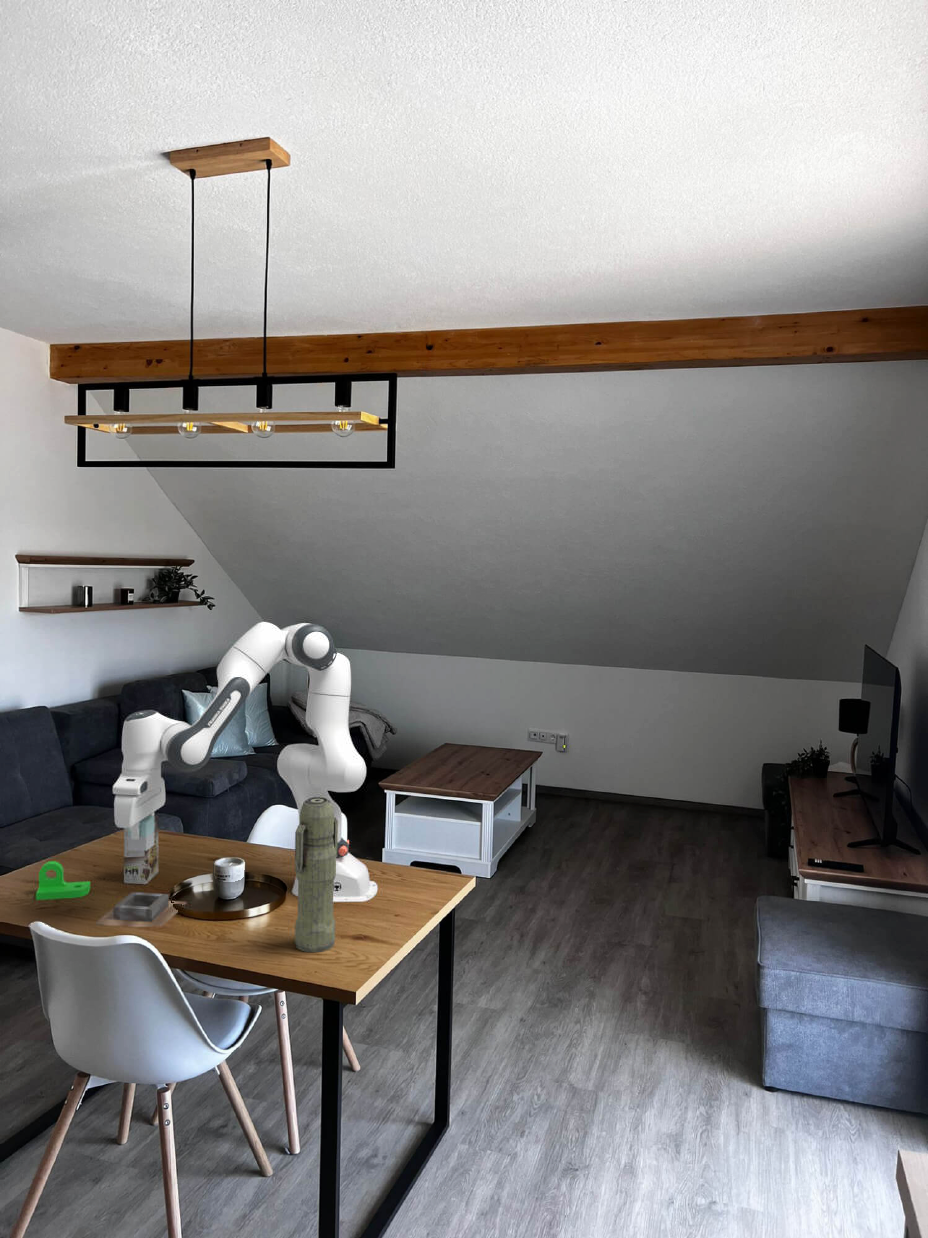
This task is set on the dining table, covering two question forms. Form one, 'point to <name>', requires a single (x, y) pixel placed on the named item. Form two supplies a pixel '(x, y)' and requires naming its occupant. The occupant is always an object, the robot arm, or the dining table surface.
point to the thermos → (315, 875)
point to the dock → (141, 911)
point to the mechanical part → (58, 884)
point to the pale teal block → (143, 835)
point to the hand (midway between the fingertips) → (141, 834)
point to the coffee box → (141, 860)
